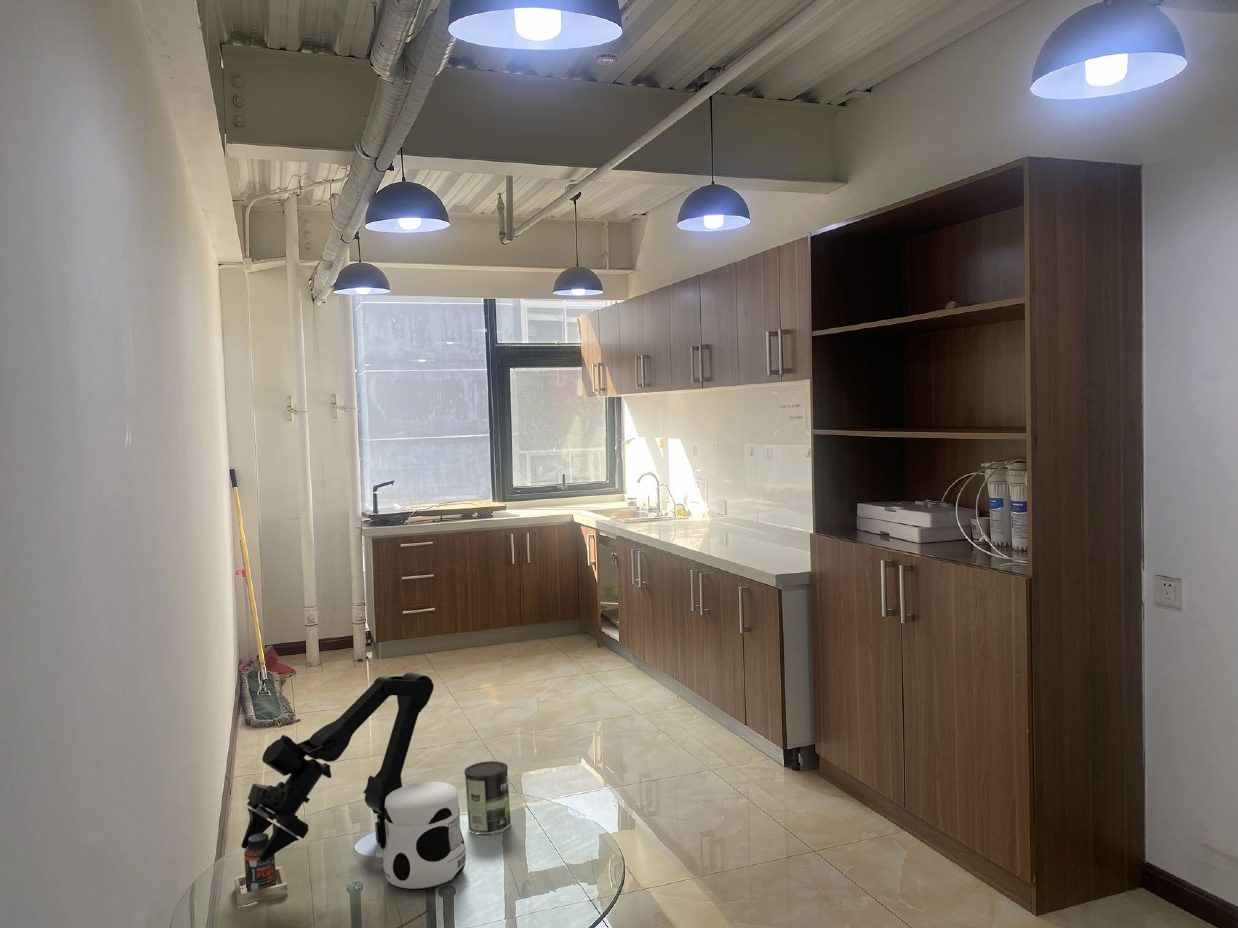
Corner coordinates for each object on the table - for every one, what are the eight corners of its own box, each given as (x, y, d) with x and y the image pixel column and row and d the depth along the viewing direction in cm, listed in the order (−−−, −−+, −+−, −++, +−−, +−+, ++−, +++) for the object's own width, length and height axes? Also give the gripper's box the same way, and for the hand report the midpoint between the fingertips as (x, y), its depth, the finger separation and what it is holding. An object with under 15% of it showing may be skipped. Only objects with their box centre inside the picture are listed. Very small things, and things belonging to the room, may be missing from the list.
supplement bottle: (259, 898, 191) (255, 845, 191) (240, 892, 194) (236, 840, 194) (282, 885, 196) (279, 833, 196) (264, 879, 199) (260, 828, 199)
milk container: (378, 871, 202) (373, 789, 202) (456, 852, 209) (452, 774, 208) (392, 906, 186) (386, 818, 186) (476, 885, 193) (471, 800, 193)
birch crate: (282, 877, 202) (281, 866, 202) (287, 895, 193) (286, 884, 193) (235, 889, 197) (234, 877, 197) (238, 908, 189) (237, 896, 189)
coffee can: (513, 816, 228) (510, 759, 227) (508, 834, 217) (504, 775, 217) (471, 818, 228) (468, 761, 227) (464, 836, 217) (460, 777, 217)
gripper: (253, 758, 204) (205, 824, 197) (290, 777, 191) (240, 849, 183) (289, 782, 210) (244, 848, 202) (328, 803, 196) (281, 873, 189)
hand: (251, 853), depth 194 cm, fingers open, 9 cm apart
